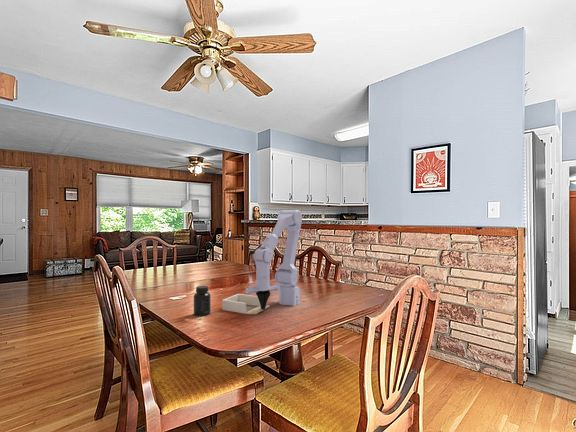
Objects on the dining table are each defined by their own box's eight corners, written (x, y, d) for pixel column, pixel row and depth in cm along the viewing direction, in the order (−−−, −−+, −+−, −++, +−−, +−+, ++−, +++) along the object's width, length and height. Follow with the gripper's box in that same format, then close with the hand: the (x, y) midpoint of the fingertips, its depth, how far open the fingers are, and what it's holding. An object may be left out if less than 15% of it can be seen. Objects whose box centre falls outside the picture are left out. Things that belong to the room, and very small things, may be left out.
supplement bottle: (190, 315, 129) (190, 286, 129) (205, 312, 134) (205, 284, 134) (198, 319, 124) (198, 289, 124) (213, 315, 129) (213, 286, 129)
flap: (261, 307, 139) (269, 306, 138) (247, 314, 129) (255, 314, 127) (261, 305, 140) (269, 305, 138) (246, 313, 129) (255, 312, 127)
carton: (260, 307, 140) (260, 296, 140) (245, 315, 129) (245, 303, 129) (238, 304, 145) (238, 293, 145) (222, 311, 135) (222, 299, 135)
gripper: (275, 273, 139) (275, 304, 139) (243, 276, 133) (243, 308, 133) (281, 276, 132) (281, 308, 132) (248, 279, 127) (248, 312, 127)
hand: (262, 308), depth 132 cm, fingers closed, pressing on flap
